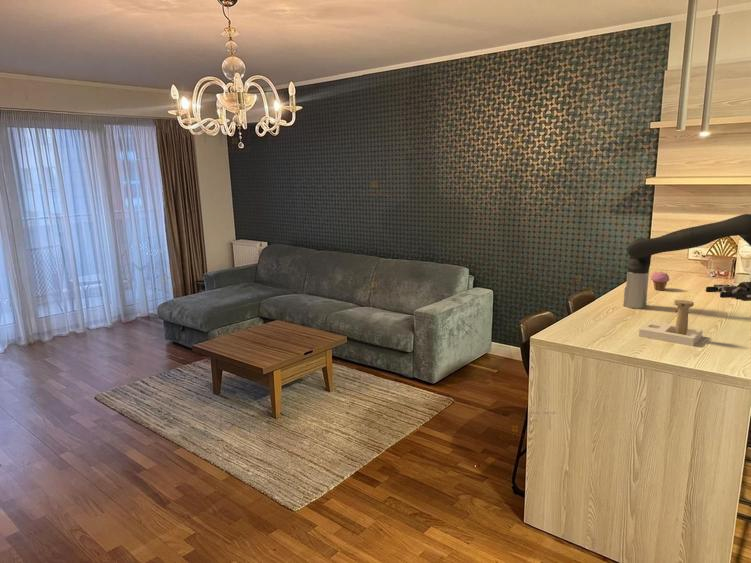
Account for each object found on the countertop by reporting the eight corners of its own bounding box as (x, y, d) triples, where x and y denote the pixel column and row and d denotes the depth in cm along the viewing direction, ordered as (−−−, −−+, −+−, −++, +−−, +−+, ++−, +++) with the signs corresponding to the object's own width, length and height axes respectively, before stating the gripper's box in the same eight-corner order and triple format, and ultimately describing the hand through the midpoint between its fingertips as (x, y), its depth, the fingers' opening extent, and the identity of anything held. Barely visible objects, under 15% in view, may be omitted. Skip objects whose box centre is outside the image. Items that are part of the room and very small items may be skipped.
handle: (672, 335, 203) (675, 299, 200) (690, 337, 199) (694, 301, 196) (670, 338, 199) (673, 302, 196) (689, 341, 195) (692, 304, 192)
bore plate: (638, 336, 203) (639, 329, 203) (649, 327, 213) (650, 320, 212) (692, 346, 190) (693, 338, 190) (701, 336, 200) (702, 329, 199)
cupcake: (668, 292, 269) (669, 273, 267) (649, 290, 274) (651, 272, 271) (668, 288, 276) (670, 270, 274) (650, 287, 281) (652, 269, 279)
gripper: (742, 278, 204) (703, 278, 204) (769, 286, 190) (727, 287, 190) (740, 295, 206) (700, 296, 206) (766, 305, 192) (724, 306, 192)
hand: (713, 292), depth 198 cm, fingers open, 8 cm apart
